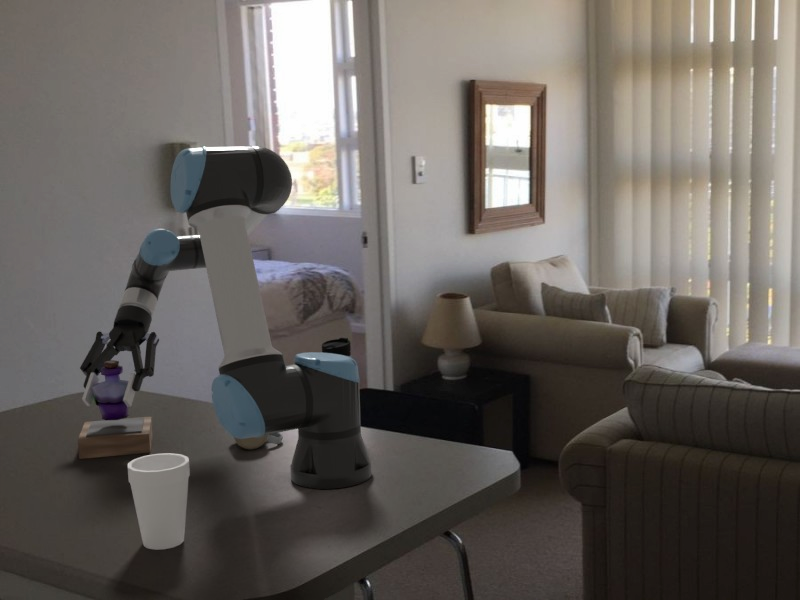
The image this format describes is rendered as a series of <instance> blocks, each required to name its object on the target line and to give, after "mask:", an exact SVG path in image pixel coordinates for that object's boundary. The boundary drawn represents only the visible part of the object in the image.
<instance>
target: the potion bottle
mask: <svg viewBox="0 0 800 600" xmlns="http://www.w3.org/2000/svg"><path fill="white" fill-rule="evenodd" d="M119 363H120V362H119V360H112V359H111V360H110V361H106V362H104V367H102V368H101V372H100V375H102V376H104V379H105V380H103V381H101V382H98V383H97V384H96V385H94V386H93V387H91V388H92V391H93V394H94V397H93V402H94V404H95V406H98V407H99V409H98V410H99V411H100V415H101V420H120V419H127V418H129V416H130V415H129V412H130V407H127V405H126V404H125V403H124V401H123V398H124V395H125V391H126V388H127V385H128V382H129V380H125V379H121V378H120V375H121V374H122V373H124V367H123V365H119Z"/></svg>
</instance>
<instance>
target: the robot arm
mask: <svg viewBox="0 0 800 600" xmlns="http://www.w3.org/2000/svg"><path fill="white" fill-rule="evenodd" d="M169 187H170V198H171V203H172V206H173V208H174V210H175V211H176V212H178V213H180V214H186V218H187V223H188V225H189V226H190V227H191V228H193V229H195V230H196V231H197V232H198V234H188V235H187V234H186V235H176V233H174V232H173V231H172V230H168V229H165V228H155V229H153V230H151V231H150V232H148V234H147V235H146V237H145V238H144V239H143V241H142V242H141V244H140V247H139V248H140V249H139V252H138V253H137V254H136V256H135V258H134V260H133V263H132V265H131V270H130V273H129V276H128V280H127V283H126V286H125V289H124V292H123V294H122V297H121V299H120V302H119V306H118V309H117V312H116V315H115V317H114V321H113V327H112V328H111V330H110V331H109V332H105V333H103V332H102V331H97V332H96V334H95V340H94V342H93V344H92V345H91V347H90V349H89V351H88V353H87V355H86V356H85V358H84V360H83V361H82V363H81V365H80V367H79V370H81V372H82V373H83V375H85V379H84V382H83V388H84V392H83V395H82V398H81V400H82V401H83V403H84V404H85V405H86V407H91V406H92V402H93V401H94V394H93V391H92V388H91V387H93V386H94V385H96V384H97V383H100V382H99V381H100V378H99V377H98V376H99V374H101V368H102V367H104V362H106V361H111V360H112V359H113V358H114V357H115V356H117V355H118V354H120V352H125V351H127V352H131V356H132V362H133V366H134V372H132V373H130V376H129V380H128V381H129V382H128V385H127V388H126V391H125V395H124V398H123V401H124V403H125V404H126V405H127V407H129V408H131V407H132V404H133V401H134V399H135V395H136V392H139V391H140V390H141V387H142V384H143V381H144V379H145V378H147V377H151V378H152V377H153V376H154V375H155V363H156V351H157V346H158V345H159V342H160V338H159V336H158V335H157V333H156V332H155V331H152V332H150V333H148V332H149V330H150V327H151V323H152V320H153V317H154V313H155V310H156V307H157V304H158V300H159V298H160V293H161V291H162V288H163V285H164V283H165V280H166V278H167V276H168V274H169V272H175V271H182V270H183V271H185V270H186V271H187V270H193V269H195V270H196V269H206V273H207V278H208V282H209V287H210V291H211V298H212V302H213V305H214V306H213V307H214V311H215V312H214V313H215V317H216V321H217V325H218V326H217V327H218V330H219V335H220V341H221V345H222V351H223V354H224V357H223V359H222V361H221V362H220V364H219V366H218V367H217V368H218V372H219V374H218V375H217V376H216V377H215V378H214V379H213V381H212V383H211V392H212V393H211V401H212V405H213V408H214V411H215V415H216V417H217V420H218V421H219V424H220V425H221V426H222V428H223V429H224V431H226V432H227V434H228V435H229V436H231V437H233V438H234V437H235V438H238V439H244V438H251V437H255V438H258V437H261V436H263V435H268V434H273V433H278V432H279V433H282V432H283V433H284V432H288V431H292V430H297V434H298V436H297V441H296V442H297V443H296V446H295V449H294V453H293V456H292V460H291V464H290V480H291V481H292V483H294V484H295V485H298V486H300V487H304V488H309V489H318V490H322V489H323V490H328V489H329V490H330V489H332V490H333V489H342V488H347V487H352V486H353V487H354V486H356V485H359V484H361V483H364V482H366V481H368V480H369V479H370V478H371V477H372V475H373V474H372V473H373V472H372V471H373V469H372V468H373V467H372V466H373V465H372V460H371V458H370V454H369V452H368V450H367V447H366V444H365V441H364V439H363V436H362V430H361V429H362V428H361V427H362V426H361V422H362V421H361V401H360V399H361V397H360V383H361V380H360V374H359V366H358V363H357V361H356V360H355V359H354V358H352V357H351V358H350V357H348V356H344V355H339V354H332V353H323V352H311V351H310V352H300V353H297V354H295V356H294V359H293V364H287V365H286V364H285V360H284V355H283V353H282V352H281V351H279V350H277V349H276V348H275V347H274V346H273V345H272V341H271V336H270V330H269V325H268V321H267V317H266V313H265V307H264V303H263V299H262V294H261V290H260V285H259V280H258V275H257V271H256V267H255V263H254V258H253V254H252V253H253V252H252V247H251V243H250V238H249V235H251V233H253V231H254V230H255V229H256V228H257V227H258V225H259V224H261V222H262V221H263V220H264V219H265V218H266V217H267V216H269V215H273V214H275V213H277V212H279V210H280V209H281V208H283V206H285V204H286V203H287V201H288V200H289V198H290V196H291V192H292V188H293V178H292V173H291V170H290V167H289V166H288V164H287V163H286V161H285V160H284V159H283V158H282V157H281V156H280V155H279V154H278V153H276V152H275V151H274V150H272V149H270V148H267V147H263V146H259V145H246V146H243V145H241V146H205V145H204V146H200V147H190V148H189V147H188V148H185V149H182V150H181V151H180V152H178V154H177V155H176V157H175V160H174V161H173V165H172V169H171V176H170V186H169ZM145 341H146V343H145ZM143 343H145V346H146V347H145V356H144V357H145V358H144V363H143V359H142V351H141V345H142V344H143Z"/></svg>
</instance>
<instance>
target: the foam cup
mask: <svg viewBox="0 0 800 600" xmlns="http://www.w3.org/2000/svg"><path fill="white" fill-rule="evenodd" d="M127 475H128V476H127V477H128V483H130V489H131V492H132V499H133V502H134V508H135V512H136V516H137V523H138V526H139V531H140V536H141V540H142V543H143V544H142V545H143V547H145V548H146V549H149V550H156V551H158V550H166V549H168V550H169V549H172V548H176V547H177V546H180V545H182V544H183V543H184V542H185V532H186V531H185V530H186V518H187V505H188V503H187V502H188V491H189V479H190V478H189V477H190V476H191V471H190V459H189V456H186V455H184V454H181V453H173V452H170V453H169V452H166V453H154V454H149V455H143V456H140V457H137V458H134V459H132V460H131V461H129V462H128V463H127Z"/></svg>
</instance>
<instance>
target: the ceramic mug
mask: <svg viewBox="0 0 800 600" xmlns="http://www.w3.org/2000/svg"><path fill="white" fill-rule="evenodd" d="M283 437H284V435H283V434H281V432H278V433H273V434H268V435H263V436H261V437H258V438H255V437H251V438H244V439H238V438H235V437H233V439H234V441H235V443H236V444H237V445H238V446H240V447H241V448H243V449H245V450H256V449H259V448H260V447H261V446H263V445H264V444H265V442H267V443H270V444H274V445H280V444H282V441H283Z"/></svg>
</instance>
